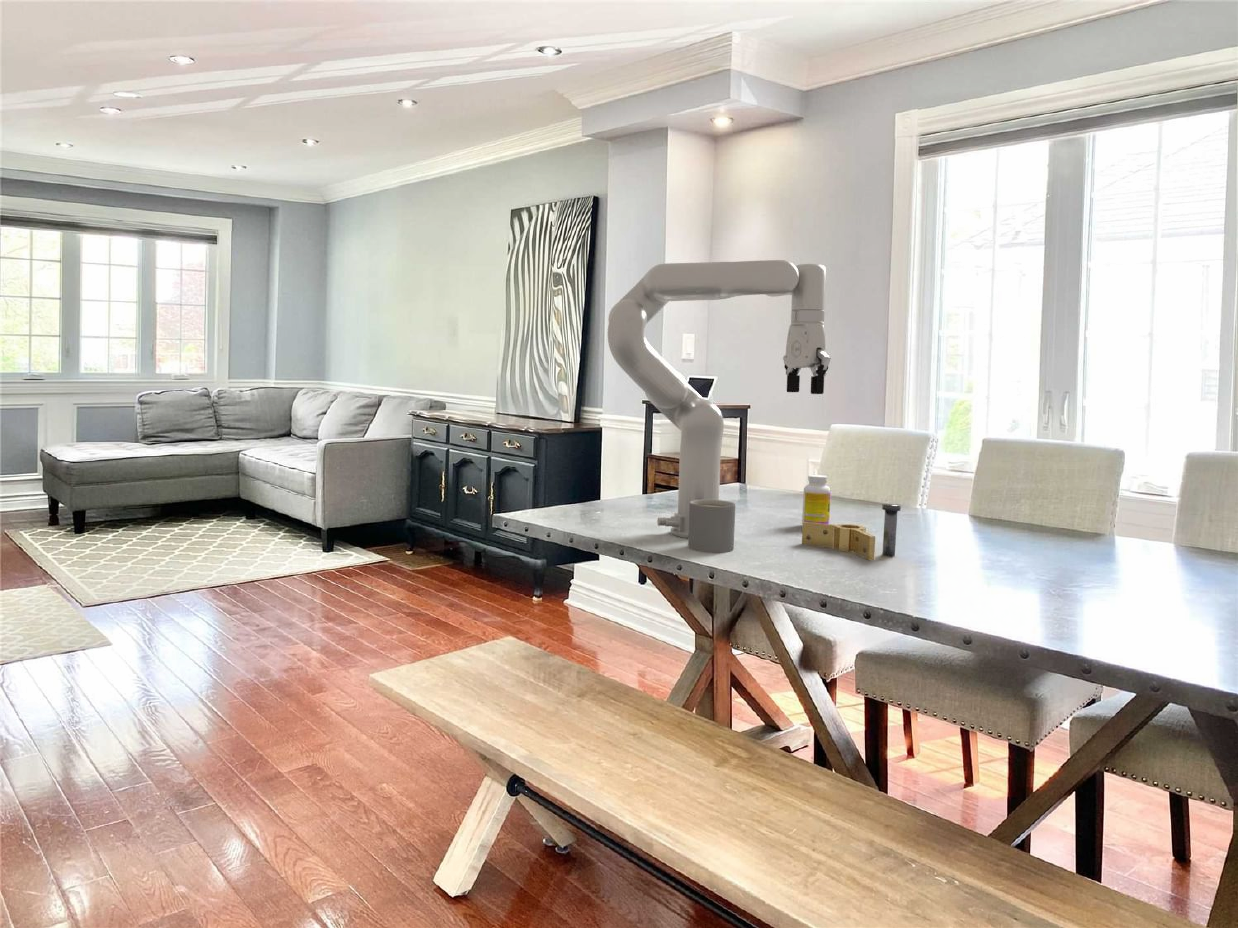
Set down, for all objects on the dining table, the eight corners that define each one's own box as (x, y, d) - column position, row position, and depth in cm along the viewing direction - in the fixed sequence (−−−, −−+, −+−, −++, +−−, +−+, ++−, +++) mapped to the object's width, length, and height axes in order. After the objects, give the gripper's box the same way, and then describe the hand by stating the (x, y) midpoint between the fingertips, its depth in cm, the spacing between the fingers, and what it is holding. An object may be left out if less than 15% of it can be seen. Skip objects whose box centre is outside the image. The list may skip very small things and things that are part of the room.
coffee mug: (723, 554, 197) (725, 508, 196) (680, 549, 202) (682, 503, 201) (745, 544, 209) (747, 500, 208) (704, 539, 214) (705, 496, 213)
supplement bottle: (831, 529, 231) (834, 477, 229) (804, 528, 231) (807, 477, 229) (825, 524, 237) (828, 474, 236) (799, 523, 237) (802, 473, 236)
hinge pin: (884, 557, 199) (887, 506, 198) (876, 553, 203) (879, 503, 201) (900, 556, 200) (904, 506, 198) (892, 553, 203) (895, 503, 202)
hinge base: (857, 560, 195) (858, 536, 195) (829, 545, 210) (830, 524, 209) (885, 559, 197) (886, 536, 196) (856, 545, 211) (857, 523, 210)
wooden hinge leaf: (833, 546, 209) (835, 524, 209) (832, 547, 208) (833, 525, 207) (803, 543, 212) (804, 521, 211) (801, 544, 211) (802, 522, 210)
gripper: (773, 319, 221) (770, 391, 223) (815, 317, 206) (812, 394, 208) (799, 320, 224) (797, 391, 226) (843, 318, 209) (840, 394, 211)
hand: (804, 393), depth 217 cm, fingers open, 9 cm apart
